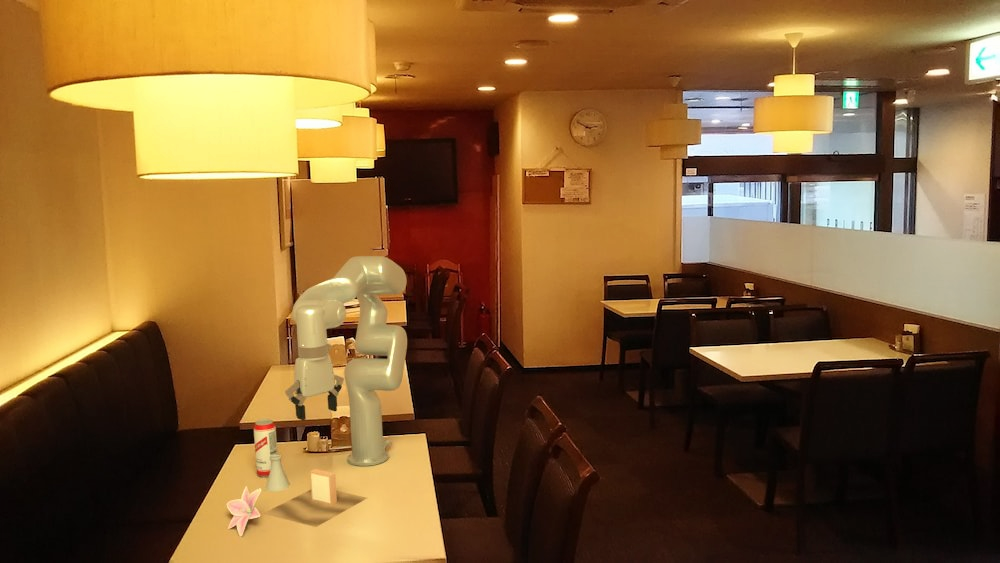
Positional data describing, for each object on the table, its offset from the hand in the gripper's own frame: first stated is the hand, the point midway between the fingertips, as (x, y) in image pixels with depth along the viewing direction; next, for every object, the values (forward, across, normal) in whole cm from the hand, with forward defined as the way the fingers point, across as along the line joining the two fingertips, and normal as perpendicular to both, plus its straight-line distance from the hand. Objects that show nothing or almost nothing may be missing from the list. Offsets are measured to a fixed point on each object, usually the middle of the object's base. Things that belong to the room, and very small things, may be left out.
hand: (317, 414), depth 218 cm
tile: (+23, +2, +4) cm, 23 cm away
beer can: (+24, 0, -29) cm, 38 cm away
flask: (+24, +5, -15) cm, 29 cm away
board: (+24, +5, +4) cm, 25 cm away
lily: (+24, +22, 0) cm, 33 cm away
